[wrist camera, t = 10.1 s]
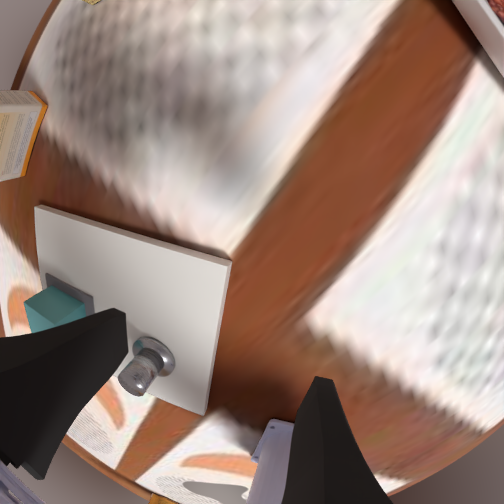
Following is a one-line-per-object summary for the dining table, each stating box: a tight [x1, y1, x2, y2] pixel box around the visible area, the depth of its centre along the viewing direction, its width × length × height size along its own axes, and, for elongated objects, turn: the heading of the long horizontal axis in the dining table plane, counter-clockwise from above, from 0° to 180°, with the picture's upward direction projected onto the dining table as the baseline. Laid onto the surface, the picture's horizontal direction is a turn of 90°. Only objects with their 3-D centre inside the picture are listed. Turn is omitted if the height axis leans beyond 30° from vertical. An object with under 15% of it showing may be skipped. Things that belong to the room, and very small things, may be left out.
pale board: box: [34, 205, 232, 416], centre depth 22 cm, size 16×20×1 cm
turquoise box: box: [24, 285, 86, 333], centre depth 21 cm, size 5×5×4 cm
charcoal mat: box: [45, 273, 95, 316], centre depth 23 cm, size 7×7×1 cm
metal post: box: [118, 336, 176, 396], centre depth 20 cm, size 4×4×4 cm
